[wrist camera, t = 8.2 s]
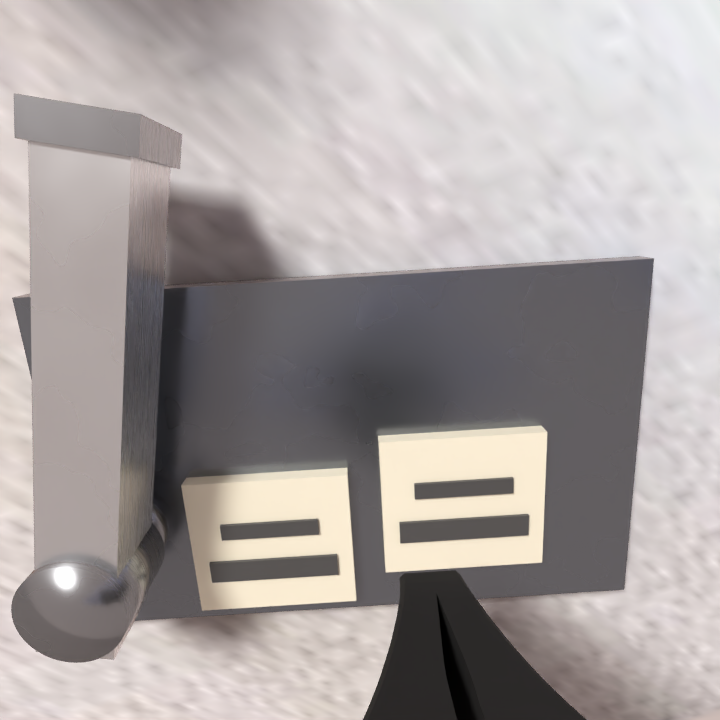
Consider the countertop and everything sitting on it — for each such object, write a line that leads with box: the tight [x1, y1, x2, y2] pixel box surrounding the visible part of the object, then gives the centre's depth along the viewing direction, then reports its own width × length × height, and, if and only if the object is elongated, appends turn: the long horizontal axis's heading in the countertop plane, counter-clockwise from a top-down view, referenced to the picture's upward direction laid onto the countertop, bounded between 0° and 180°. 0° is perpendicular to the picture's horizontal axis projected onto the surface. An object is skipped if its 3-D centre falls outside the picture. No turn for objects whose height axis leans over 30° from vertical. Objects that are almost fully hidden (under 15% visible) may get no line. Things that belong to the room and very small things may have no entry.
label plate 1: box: [181, 468, 356, 611], centre depth 17 cm, size 5×4×1 cm
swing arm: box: [11, 94, 182, 663], centre depth 13 cm, size 13×3×3 cm, turn 171°
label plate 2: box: [378, 426, 547, 572], centre depth 16 cm, size 5×4×1 cm
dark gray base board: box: [12, 256, 654, 621], centre depth 16 cm, size 18×11×1 cm, turn 93°
